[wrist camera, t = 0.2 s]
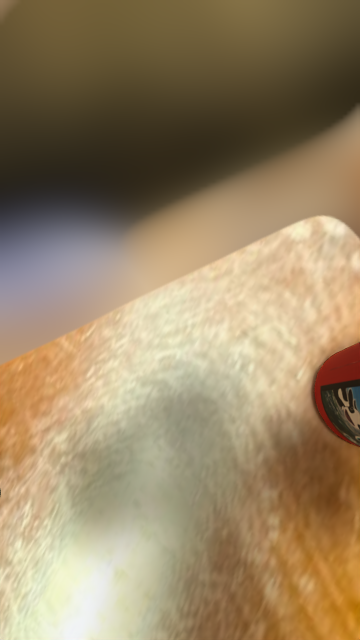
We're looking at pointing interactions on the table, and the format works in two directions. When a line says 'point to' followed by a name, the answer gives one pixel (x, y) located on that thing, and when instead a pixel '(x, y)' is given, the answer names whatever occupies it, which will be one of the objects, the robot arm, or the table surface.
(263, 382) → the table surface
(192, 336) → the table surface
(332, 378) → the beverage can
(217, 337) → the table surface
